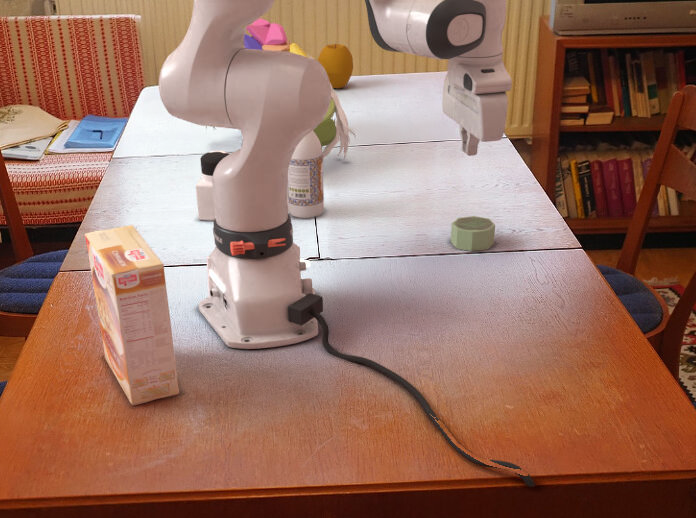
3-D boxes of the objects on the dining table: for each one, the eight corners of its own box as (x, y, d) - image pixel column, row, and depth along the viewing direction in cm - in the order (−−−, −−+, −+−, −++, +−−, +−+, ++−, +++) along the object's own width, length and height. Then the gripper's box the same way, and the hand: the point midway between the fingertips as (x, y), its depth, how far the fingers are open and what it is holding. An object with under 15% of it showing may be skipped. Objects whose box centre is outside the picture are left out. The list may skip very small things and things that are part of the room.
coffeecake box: (103, 357, 142) (82, 232, 131) (150, 347, 144) (134, 223, 134) (130, 407, 130) (110, 273, 119) (181, 394, 132) (165, 262, 122)
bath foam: (325, 218, 185) (322, 112, 174) (288, 219, 184) (284, 114, 174) (322, 205, 190) (320, 102, 180) (287, 206, 190) (283, 104, 180)
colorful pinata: (336, 98, 189) (249, -16, 202) (232, 200, 199) (154, 85, 211) (398, 149, 217) (318, 45, 230) (304, 235, 227) (232, 132, 239)
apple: (315, 92, 262) (314, 47, 256) (320, 83, 270) (319, 39, 264) (351, 92, 260) (350, 47, 254) (355, 83, 268) (355, 39, 262)
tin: (483, 233, 175) (498, 248, 170) (446, 237, 174) (460, 252, 168) (484, 214, 173) (499, 228, 168) (447, 218, 172) (461, 233, 167)
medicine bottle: (234, 222, 185) (229, 160, 178) (198, 220, 186) (192, 159, 180) (243, 208, 191) (239, 148, 184) (208, 207, 192) (203, 147, 186)
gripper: (435, 58, 168) (431, 138, 175) (478, 85, 151) (472, 172, 158) (469, 56, 169) (465, 135, 176) (516, 82, 152) (509, 169, 159)
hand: (469, 153), depth 167 cm, fingers closed
